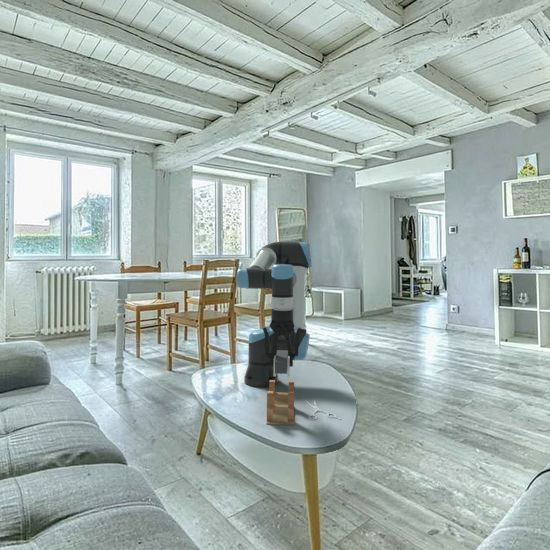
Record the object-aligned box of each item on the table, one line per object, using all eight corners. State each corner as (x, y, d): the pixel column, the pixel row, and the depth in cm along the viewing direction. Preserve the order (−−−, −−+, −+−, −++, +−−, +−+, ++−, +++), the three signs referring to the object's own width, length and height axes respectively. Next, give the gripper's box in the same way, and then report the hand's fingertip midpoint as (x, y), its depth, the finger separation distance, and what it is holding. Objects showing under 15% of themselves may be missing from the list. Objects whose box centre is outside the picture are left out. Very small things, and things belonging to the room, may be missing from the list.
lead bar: (276, 360, 142) (277, 350, 141) (287, 361, 141) (287, 350, 141) (274, 373, 127) (274, 361, 127) (286, 373, 127) (287, 361, 126)
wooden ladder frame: (269, 405, 143) (269, 379, 142) (293, 406, 142) (294, 379, 142) (266, 424, 127) (266, 394, 126) (293, 425, 126) (294, 395, 126)
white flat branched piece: (311, 421, 129) (296, 399, 149) (311, 423, 129) (295, 401, 149) (341, 419, 131) (322, 397, 151) (341, 421, 131) (322, 399, 151)
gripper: (256, 310, 130) (256, 378, 131) (307, 310, 129) (306, 379, 130) (258, 307, 137) (258, 371, 138) (306, 307, 136) (305, 372, 138)
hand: (281, 375), depth 134 cm, fingers closed on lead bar, 4 cm apart
